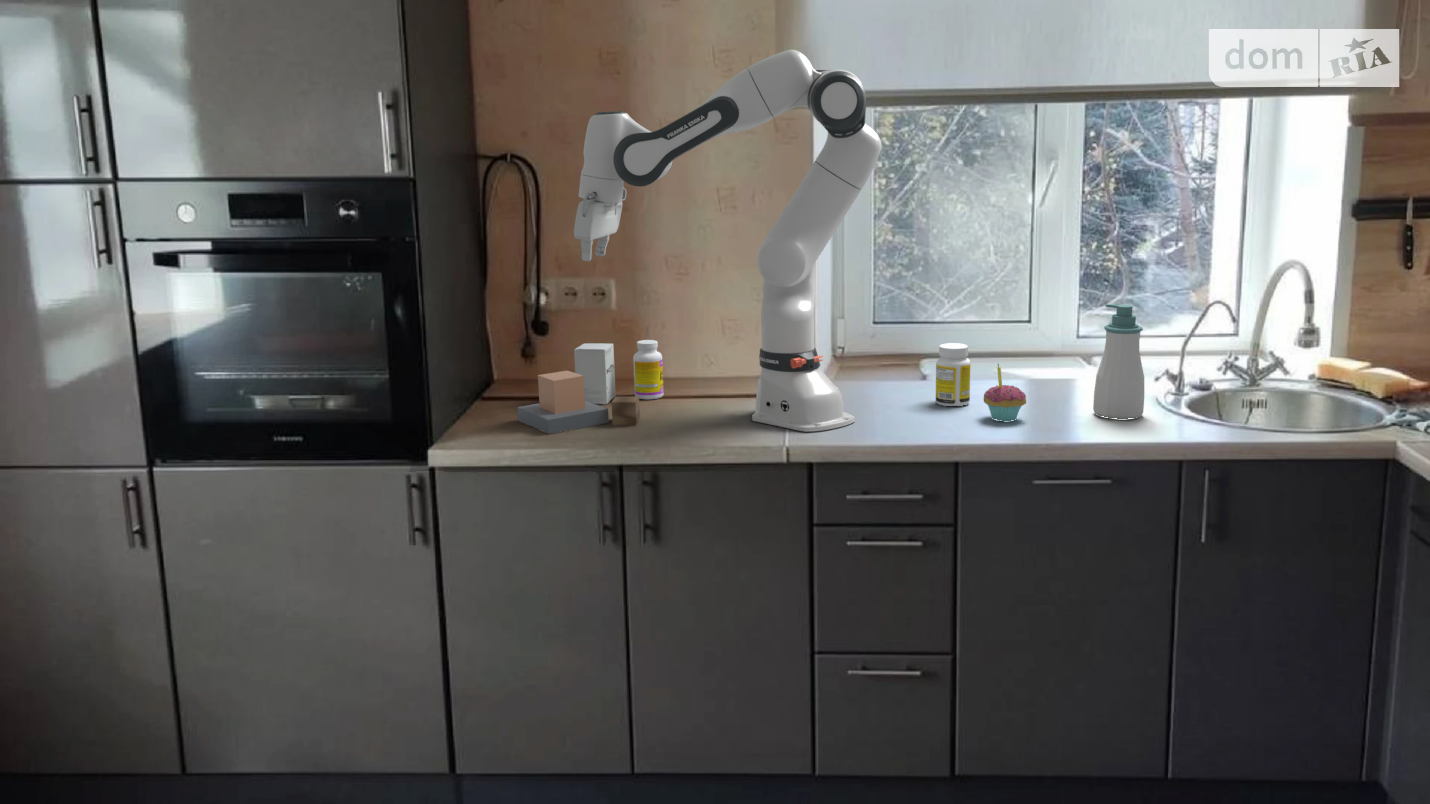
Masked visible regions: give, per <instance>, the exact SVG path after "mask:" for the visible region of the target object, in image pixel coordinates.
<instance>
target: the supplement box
mask: <svg viewBox="0 0 1430 804" xmlns="http://www.w3.org/2000/svg"><path fill="white" fill-rule="evenodd" d="M614 349H615V348H614V343H601V342H599V343H591V342H589V343H582V344H580V345H579V346H577V347H576V348H574V350H573V353H574V354H573V355H574V373H577V374H580V375H583V376H584V394H585V401H588V402H591V403H594V404H596V405H607V404H608V403H609V402H610V401H613V400H614V398H615V397H616V376H615V373H616V372H615V371H616V370H615V355H614V354H615V353H614V351H615V350H614Z"/></svg>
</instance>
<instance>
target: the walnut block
mask: <svg viewBox="0 0 1430 804" xmlns="http://www.w3.org/2000/svg"><path fill="white" fill-rule="evenodd" d="M640 413H641V412H640V399H639V397H635V396H615V397H614V398H613V399H612V400H611V417H612V418H611V421H612V426H637V425H638V424H639V422H640V420H641V415H640Z"/></svg>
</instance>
